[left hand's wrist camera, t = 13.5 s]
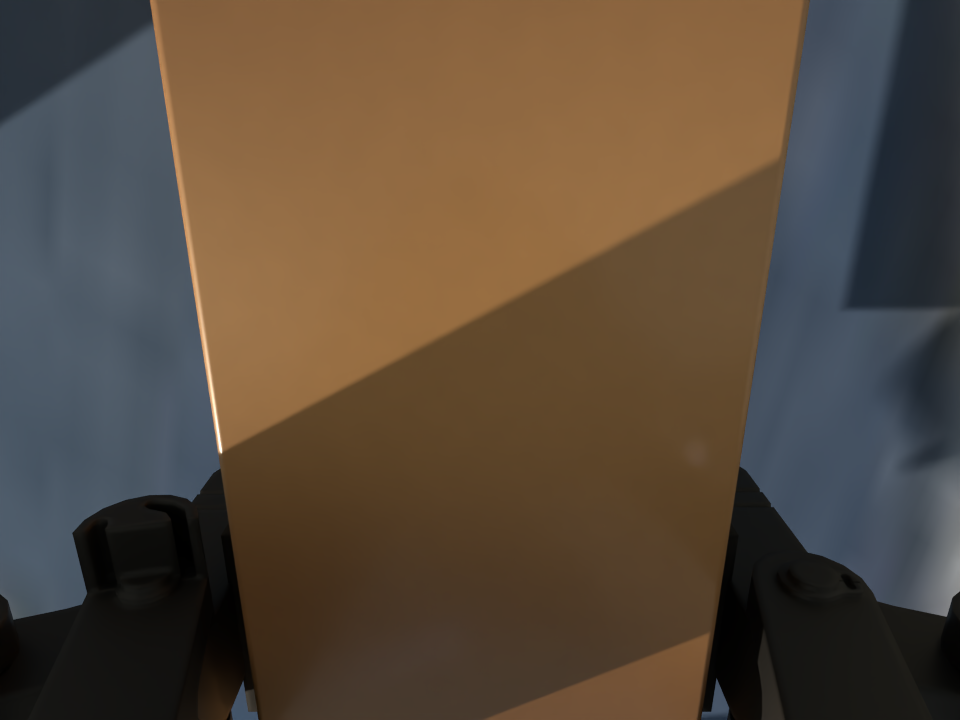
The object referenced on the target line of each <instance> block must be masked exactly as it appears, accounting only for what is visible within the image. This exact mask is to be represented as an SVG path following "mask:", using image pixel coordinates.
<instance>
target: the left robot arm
mask: <svg viewBox="0 0 960 720" xmlns="http://www.w3.org/2000/svg"><path fill="white" fill-rule="evenodd" d="M73 537H74V541H75V545H76V549H77V553H78V557H79V562H80V566H81V570H82V574H83V578H84V582H85V586H86V590H87V595H86V597H85V599H84V602H83V604H82V605H79V606H75V607H71V608H68V609H63V610H59V611H54V612H49V613H44V614H40V615H35V616H30V617H25V618H20V619H16V620H13V617H12V614H11V610H10V607H9V604H8V601H7V600H6V599H5V598H4V597H3V596H2V595H0V720H233V719H232V713H231V708H232V706H233V704H234V701H235V699H236V696H237V694H238V692H239V689H240V687H241V684H242V682H243V680H244V687H245V693H246V700H247V706H248V712H257V706H256V699H255V693H254V686H253V679H252V673H251V666H250V660H249V653H248V646H247V640H246V633H245V626H244V620H243V613H242V607H241V600H240V593H239V587H238V580H237V573H236V567H235V560H234V554H233V547H232V540H231V534H230V527H229V520H228V514H227V507H226V501H225V494H224V487H223V481H222V474H221V469H219V470H218V471H216V472H215V473H213V475H212V476H211V477H210V479H209V480H208V481H207V483H206V484H205V485H204V487H203V488H202V489H201V491H200V495H197V496H196V497H195V499H194V500H193V501H192V502H190V501H189V500H188V499H186V498H181V497H177V496H173V495H148V496H143V497H138V498H133V499H128V500H125V501H122V502H119V503H117V504H114V505H111V506H109V507H106V508H103V509H102V510H100V511H98V512H97V513H95V514H94V515H92V516H90V517H89V518H87V519H85V520H84V521H83V522H82V523H81V524H80V525H79V527H78V528H77V529H76V530H75V531H74V532H73ZM716 677H717V680H718V682H719V685H720V687H721V689H722V692H723V694H724V696H725V699H726V701H727V704H728V706H729V713H728V719H727V720H960V592H959V593H957V594H956V595H955V596H954V597H953V598H952V601H951V605H950V608H949V612H948V615H947V617H945V616H940V615H935V614H930V613H925V612H921V611H916V610H911V609H906V608H901V607H896V606H892V605H888V604H885V603H881V602H877V600H876V598H875V596H874V594H873V592H872V591H871V590H870V588H869V587H868V586H867V584H866V583H865V582H864V581H863V579H862V578H861V577H859V576H858V575H856V574H855V573H854V572H852V571H851V570H849V569H848V568H847V567H845V566H844V565H842V564H839V563H837V562H835V561H832V560H830V559H828V558H826V557H823V556H820V555H816V554H811V553H808V552H807V551H806V550H805V548H804V547H803V546H802V544H801V543H800V542H799V540H798V539H797V538H796V536H795V535H794V534H793V532H792V531H791V530H790V528H789V527H788V526H787V524H786V523H785V522H784V520H783V519H782V518H781V517H780V515H779V514H778V513H777V511H776V510H775V509H774V507H771V503H770V502H769V501H768V499H767V498H766V497H765V495H764V494H763V493H762V492H760V489H759V487H758V486H757V485H756V483H755V482H754V481H753V479H752V478H751V477H750V475H749V474H748V473H747V471H746V470H744V469H743V468H741V467H740V466H739V471H738V478H737V485H736V491H735V498H734V505H733V511H732V518H731V524H730V531H729V538H728V544H727V551H726V557H725V564H724V571H723V577H722V584H721V590H720V597H719V604H718V610H717V617H716V623H715V630H714V637H713V643H712V650H711V656H710V663H709V670H708V676H707V683H706V689H705V696H704V703H703V709H702V712H711V709H712V703H713V697H714V690H715V684H716Z"/></svg>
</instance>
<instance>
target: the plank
mask: <svg viewBox="0 0 960 720" xmlns="http://www.w3.org/2000/svg"><path fill="white" fill-rule="evenodd" d="M809 2H810V0H150V3H151V10H152V17H153V23H154V30H155V36H156V43H157V50H158V56H159V63H160V70H161V76H162V83H163V90H164V96H165V103H166V109H167V116H168V123H169V129H170V136H171V143H172V149H173V156H174V162H175V169H176V176H177V182H178V189H179V196H180V202H181V209H182V215H183V222H184V229H185V235H186V242H187V249H188V255H189V262H190V268H191V275H192V282H193V288H194V295H195V302H196V308H197V315H198V322H199V328H200V335H201V341H202V348H203V355H204V361H205V368H206V375H207V381H208V388H209V394H210V401H211V408H212V414H213V421H214V428H215V434H216V441H217V447H218V454H219V461H220V467H221V474H222V481H223V487H224V494H225V501H226V507H227V514H228V520H229V527H230V534H231V540H232V547H233V554H234V560H235V567H236V573H237V580H238V587H239V593H240V600H241V607H242V613H243V620H244V626H245V633H246V640H247V646H248V653H249V660H250V666H251V673H252V679H253V686H254V693H255V699H256V706H257V713H258V719H259V720H701V716H702V709H703V703H704V696H705V689H706V683H707V676H708V670H709V663H710V656H711V650H712V643H713V637H714V630H715V623H716V617H717V610H718V604H719V597H720V590H721V584H722V577H723V571H724V564H725V557H726V551H727V544H728V538H729V531H730V524H731V518H732V511H733V505H734V498H735V491H736V485H737V478H738V471H739V465H740V458H741V452H742V445H743V438H744V432H745V425H746V419H747V412H748V405H749V399H750V392H751V386H752V379H753V372H754V366H755V359H756V353H757V346H758V339H759V333H760V326H761V320H762V313H763V306H764V300H765V293H766V286H767V280H768V273H769V267H770V260H771V253H772V247H773V240H774V234H775V227H776V220H777V214H778V207H779V201H780V194H781V187H782V181H783V174H784V168H785V161H786V154H787V148H788V141H789V135H790V128H791V121H792V115H793V108H794V101H795V95H796V88H797V82H798V75H799V68H800V62H801V55H802V49H803V42H804V35H805V29H806V22H807V16H808V9H809Z"/></svg>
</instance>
